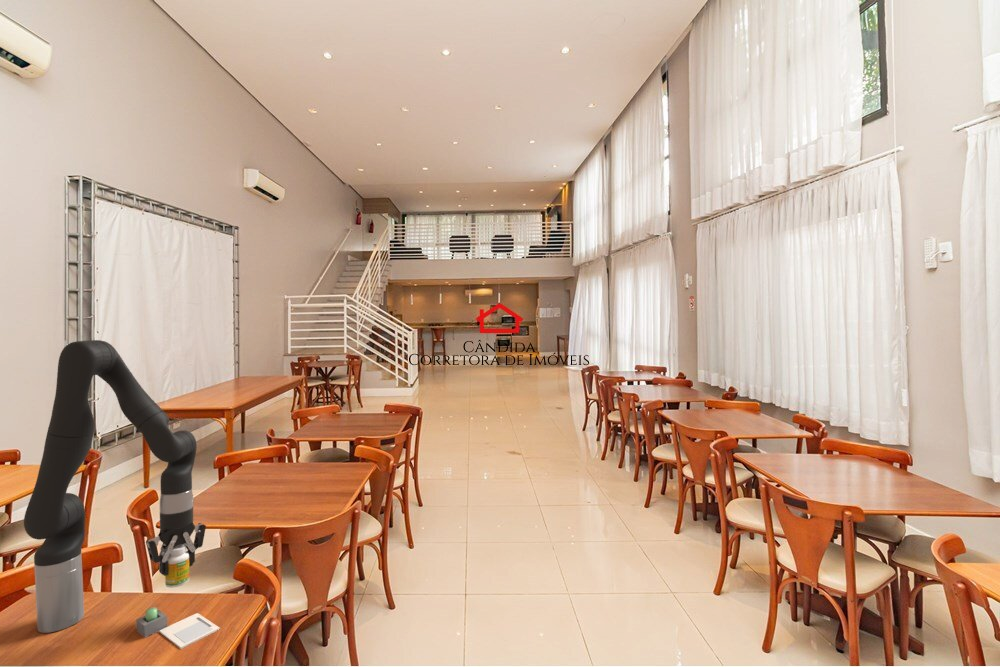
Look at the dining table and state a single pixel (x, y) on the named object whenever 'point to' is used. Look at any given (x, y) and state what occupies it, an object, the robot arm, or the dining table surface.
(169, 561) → the supplement bottle
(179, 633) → the white flat block
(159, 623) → the button housing
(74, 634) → the dining table surface
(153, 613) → the button
